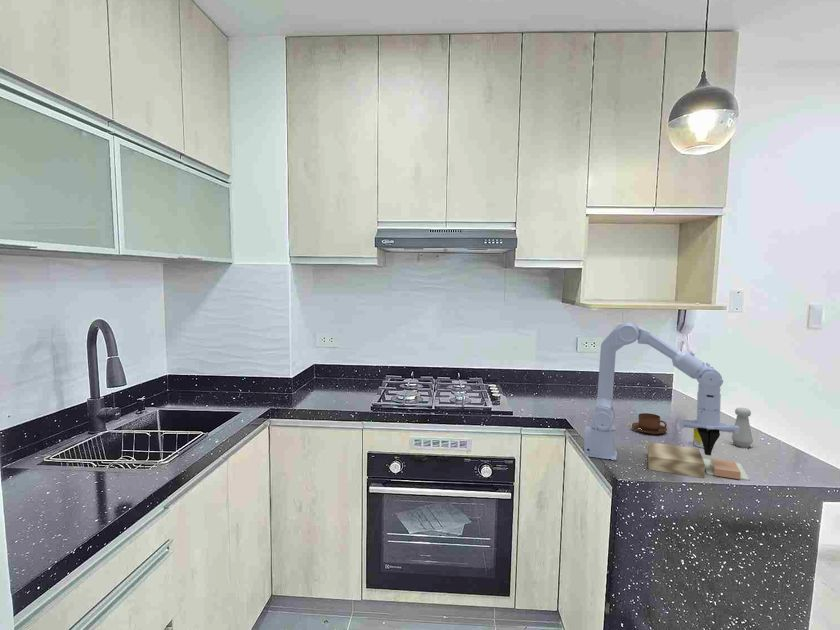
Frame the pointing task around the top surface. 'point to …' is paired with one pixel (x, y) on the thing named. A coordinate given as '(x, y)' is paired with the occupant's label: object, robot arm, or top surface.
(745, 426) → the salt shaker
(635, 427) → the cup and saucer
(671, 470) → the oak board
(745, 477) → the sage mat
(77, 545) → the top surface
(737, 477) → the terracotta tile
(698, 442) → the supplement bottle
